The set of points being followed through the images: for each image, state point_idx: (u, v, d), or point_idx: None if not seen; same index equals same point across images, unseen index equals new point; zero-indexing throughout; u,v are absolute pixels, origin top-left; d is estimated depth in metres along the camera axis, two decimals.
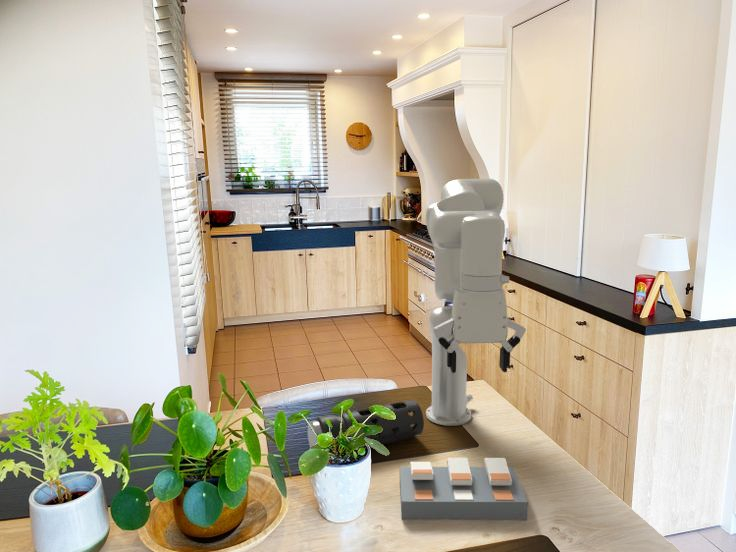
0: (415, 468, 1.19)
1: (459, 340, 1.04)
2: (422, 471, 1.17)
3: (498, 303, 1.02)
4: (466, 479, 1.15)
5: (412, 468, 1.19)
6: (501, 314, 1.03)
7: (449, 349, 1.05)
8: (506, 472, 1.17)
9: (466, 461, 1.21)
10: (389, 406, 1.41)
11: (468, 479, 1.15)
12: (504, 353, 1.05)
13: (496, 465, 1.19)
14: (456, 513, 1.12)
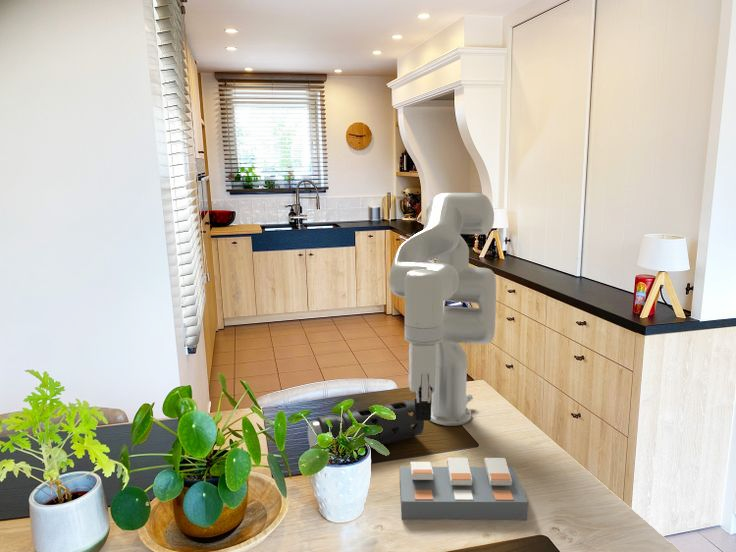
0: (415, 468, 1.19)
1: (434, 390, 1.09)
2: (422, 471, 1.17)
3: None
4: (466, 479, 1.15)
5: (412, 468, 1.19)
6: None
7: (429, 400, 1.12)
8: (506, 472, 1.17)
9: (466, 461, 1.21)
10: (389, 406, 1.41)
11: (468, 479, 1.15)
12: (429, 400, 1.14)
13: (496, 465, 1.19)
14: (456, 513, 1.12)
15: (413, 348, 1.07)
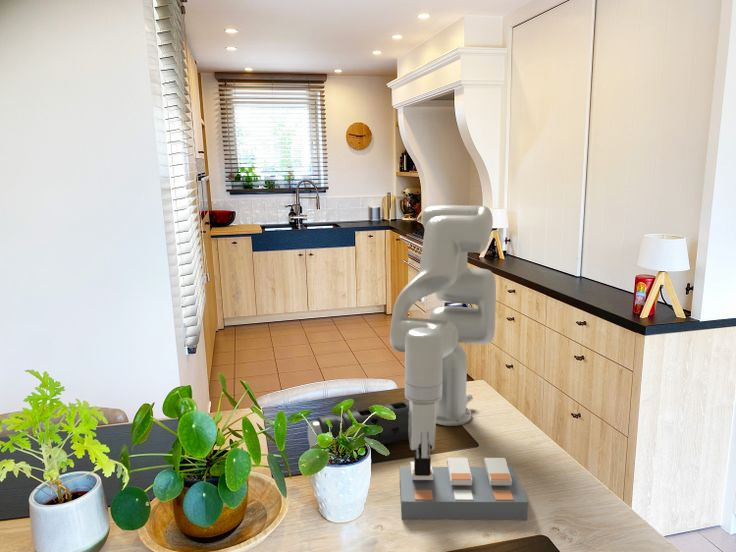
0: None
1: (434, 447, 1.11)
2: None
3: None
4: (466, 479, 1.15)
5: (412, 468, 1.19)
6: None
7: None
8: (506, 472, 1.17)
9: (466, 461, 1.21)
10: (389, 406, 1.41)
11: (468, 479, 1.15)
12: None
13: (496, 465, 1.19)
14: (456, 513, 1.12)
15: (413, 407, 1.09)
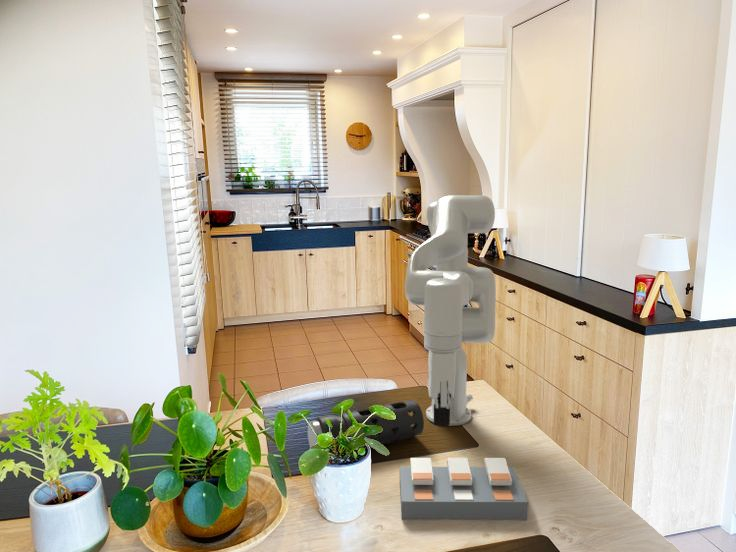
0: (415, 470, 1.18)
1: (453, 396, 1.11)
2: (422, 476, 1.16)
3: None
4: (466, 479, 1.15)
5: (412, 470, 1.18)
6: None
7: None
8: (506, 472, 1.17)
9: (466, 461, 1.21)
10: (389, 406, 1.41)
11: (468, 479, 1.15)
12: None
13: (496, 465, 1.19)
14: (456, 513, 1.12)
15: (432, 356, 1.10)
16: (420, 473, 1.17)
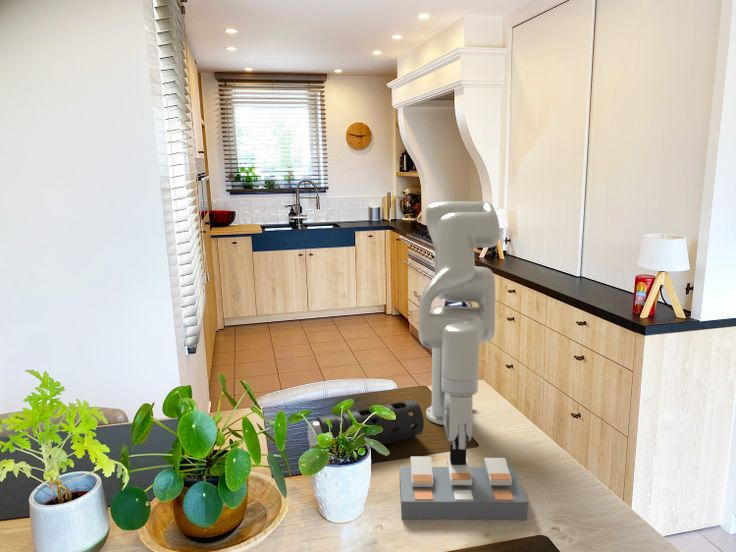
0: (415, 471, 1.18)
1: (470, 438, 1.15)
2: (422, 478, 1.16)
3: None
4: (466, 479, 1.15)
5: (412, 471, 1.18)
6: None
7: None
8: (506, 472, 1.17)
9: (466, 461, 1.21)
10: (389, 406, 1.41)
11: (468, 479, 1.15)
12: None
13: (496, 465, 1.19)
14: (456, 513, 1.12)
15: (451, 399, 1.13)
16: (420, 475, 1.17)
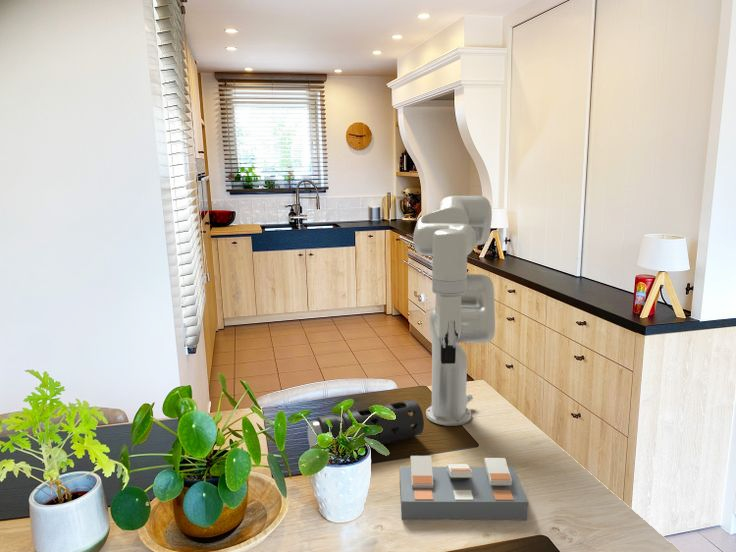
0: (415, 471, 1.18)
1: (459, 336, 1.23)
2: (422, 480, 1.16)
3: None
4: (466, 470, 1.16)
5: (412, 471, 1.18)
6: None
7: None
8: (506, 472, 1.17)
9: (466, 465, 1.21)
10: (389, 406, 1.41)
11: (468, 470, 1.16)
12: None
13: (496, 465, 1.19)
14: (456, 513, 1.12)
15: (441, 299, 1.21)
16: (420, 476, 1.17)
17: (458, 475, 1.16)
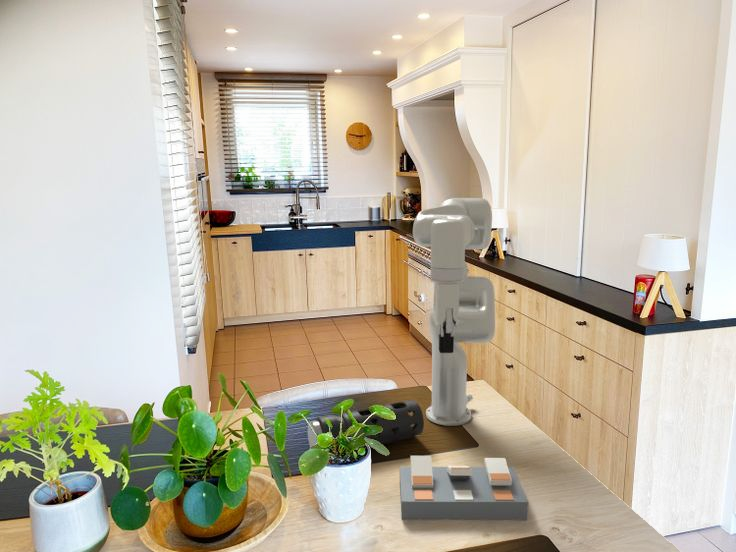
0: (415, 471, 1.18)
1: (457, 324, 1.24)
2: (422, 480, 1.16)
3: None
4: (465, 468, 1.16)
5: (412, 471, 1.18)
6: None
7: None
8: (506, 472, 1.17)
9: (465, 466, 1.21)
10: (389, 406, 1.41)
11: (467, 468, 1.16)
12: None
13: (496, 465, 1.19)
14: (456, 513, 1.12)
15: (439, 286, 1.23)
16: (420, 476, 1.17)
17: (458, 473, 1.16)
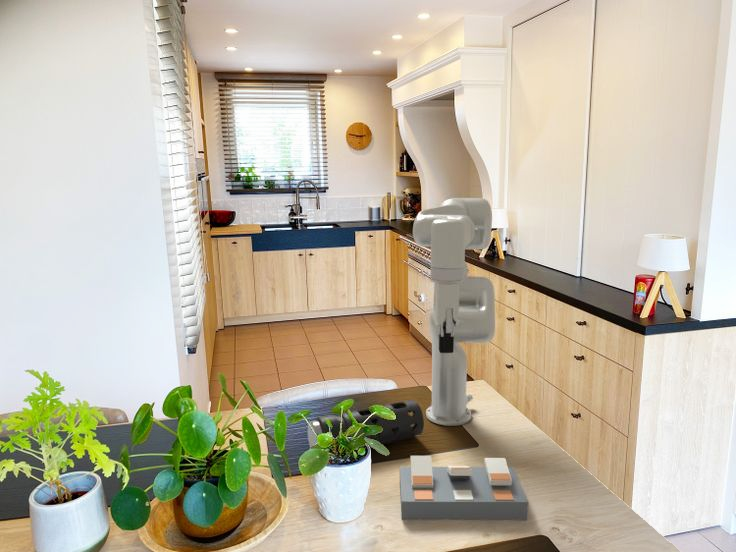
0: (415, 471, 1.18)
1: (457, 324, 1.24)
2: (422, 480, 1.16)
3: None
4: (466, 468, 1.16)
5: (412, 471, 1.18)
6: None
7: None
8: (506, 472, 1.17)
9: (465, 466, 1.21)
10: (389, 406, 1.41)
11: (467, 468, 1.16)
12: None
13: (496, 465, 1.19)
14: (456, 513, 1.12)
15: (439, 286, 1.23)
16: (420, 476, 1.17)
17: (458, 473, 1.16)
